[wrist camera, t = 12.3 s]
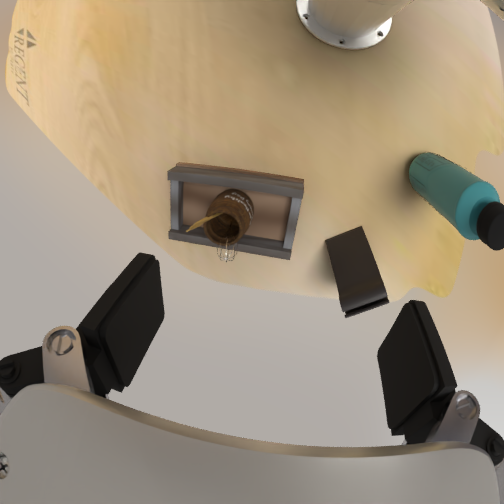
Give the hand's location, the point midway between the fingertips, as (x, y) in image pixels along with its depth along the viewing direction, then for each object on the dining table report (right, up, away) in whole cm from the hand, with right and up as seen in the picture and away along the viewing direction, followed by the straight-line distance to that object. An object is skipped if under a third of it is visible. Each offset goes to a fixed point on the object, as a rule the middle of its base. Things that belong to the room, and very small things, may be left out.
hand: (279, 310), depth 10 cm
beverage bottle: (+23, +14, +24) cm, 36 cm away
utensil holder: (-4, +9, +30) cm, 32 cm away
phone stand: (+15, +2, +32) cm, 36 cm away
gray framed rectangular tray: (-3, +9, +31) cm, 32 cm away
